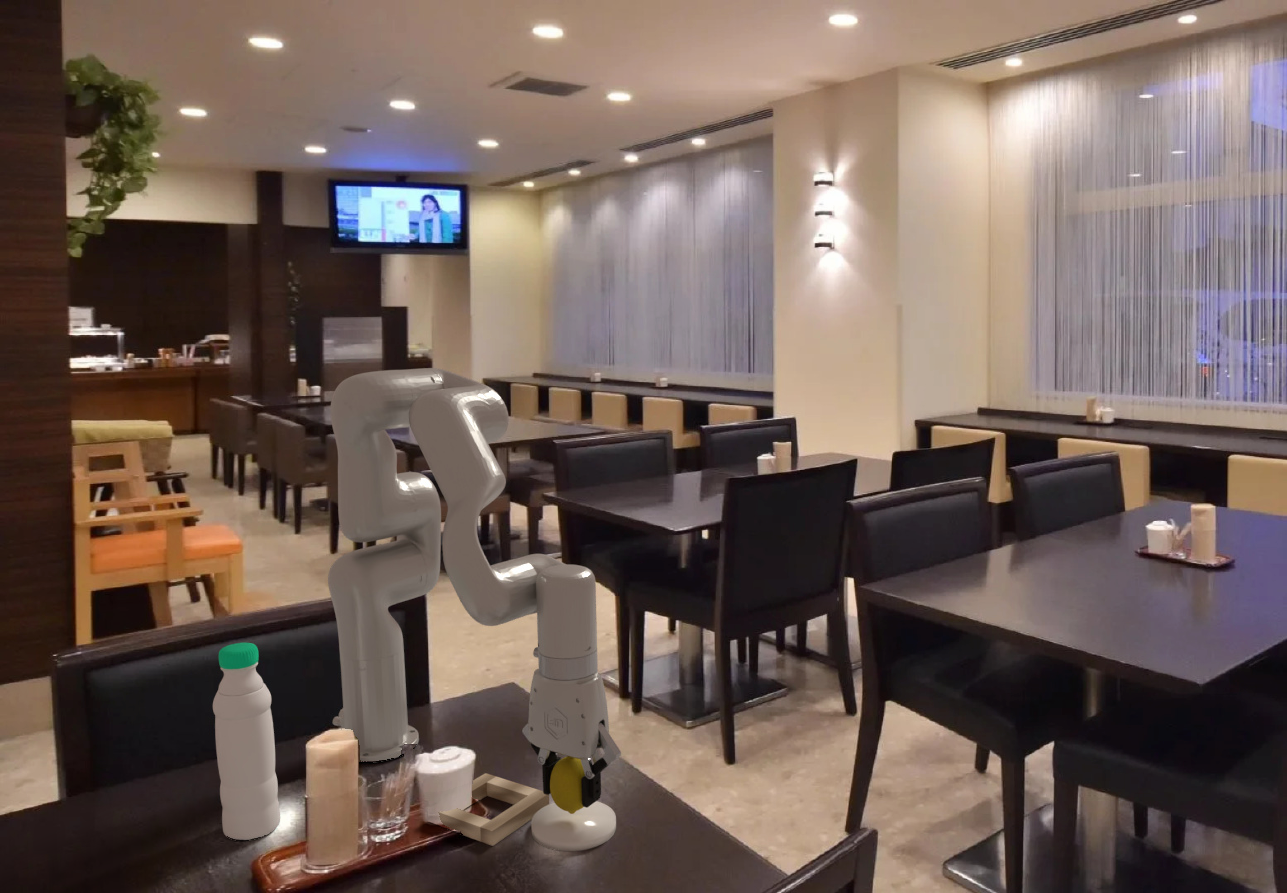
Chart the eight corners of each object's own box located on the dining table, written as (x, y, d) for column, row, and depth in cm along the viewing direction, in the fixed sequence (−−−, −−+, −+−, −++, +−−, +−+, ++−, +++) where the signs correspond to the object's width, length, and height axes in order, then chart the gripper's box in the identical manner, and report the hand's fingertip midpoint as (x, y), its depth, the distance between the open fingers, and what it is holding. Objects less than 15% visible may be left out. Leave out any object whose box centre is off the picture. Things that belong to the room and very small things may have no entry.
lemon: (587, 826, 124) (585, 766, 123) (545, 822, 125) (543, 763, 124) (597, 804, 129) (596, 747, 128) (557, 801, 130) (555, 744, 129)
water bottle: (292, 822, 130) (279, 642, 127) (248, 848, 124) (233, 659, 121) (255, 811, 133) (241, 634, 130) (211, 835, 127) (195, 651, 124)
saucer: (514, 836, 126) (513, 827, 125) (566, 799, 135) (565, 791, 135) (582, 860, 120) (582, 851, 120) (632, 820, 129) (632, 812, 129)
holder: (427, 822, 130) (426, 807, 129) (486, 786, 139) (485, 773, 139) (492, 846, 123) (492, 831, 123) (549, 807, 133) (548, 793, 133)
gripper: (497, 659, 126) (502, 792, 128) (606, 685, 117) (609, 827, 119) (534, 642, 132) (538, 769, 135) (640, 666, 123) (642, 801, 125)
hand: (571, 795), depth 127 cm, fingers closed on lemon, 5 cm apart
